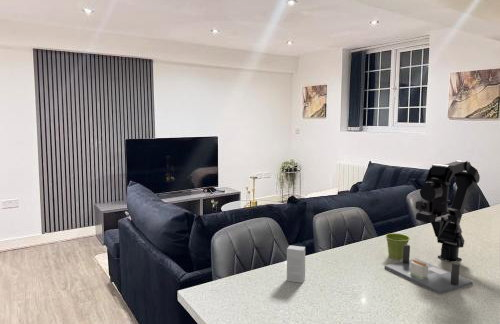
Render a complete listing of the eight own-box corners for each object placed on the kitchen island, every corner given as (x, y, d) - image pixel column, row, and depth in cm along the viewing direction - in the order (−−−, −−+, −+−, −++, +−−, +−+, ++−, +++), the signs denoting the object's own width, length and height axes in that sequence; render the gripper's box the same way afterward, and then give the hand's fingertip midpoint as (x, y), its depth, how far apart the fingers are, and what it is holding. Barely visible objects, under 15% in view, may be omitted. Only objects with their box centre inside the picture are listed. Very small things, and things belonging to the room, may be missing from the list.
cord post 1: (405, 261, 152) (406, 244, 151) (410, 263, 150) (411, 245, 149) (401, 262, 151) (402, 245, 150) (406, 264, 149) (406, 246, 148)
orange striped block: (416, 271, 142) (416, 258, 141) (427, 276, 137) (428, 263, 136) (410, 272, 140) (411, 260, 140) (421, 277, 136) (422, 264, 135)
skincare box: (305, 278, 138) (305, 246, 137) (303, 283, 134) (303, 250, 133) (288, 276, 140) (289, 244, 139) (286, 281, 136) (286, 248, 135)
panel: (416, 261, 155) (416, 258, 155) (472, 284, 133) (472, 281, 133) (384, 268, 148) (384, 265, 147) (438, 294, 126) (439, 290, 126)
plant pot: (410, 261, 154) (411, 241, 153) (386, 260, 156) (387, 239, 155) (406, 253, 163) (407, 234, 162) (383, 252, 165) (383, 232, 164)
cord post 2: (453, 281, 133) (454, 262, 132) (460, 284, 131) (461, 264, 130) (448, 283, 132) (450, 263, 131) (455, 285, 130) (456, 266, 129)
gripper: (438, 191, 157) (436, 228, 159) (405, 195, 150) (403, 234, 151) (463, 196, 147) (460, 235, 149) (429, 201, 140) (427, 242, 141)
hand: (437, 236), depth 148 cm, fingers closed
